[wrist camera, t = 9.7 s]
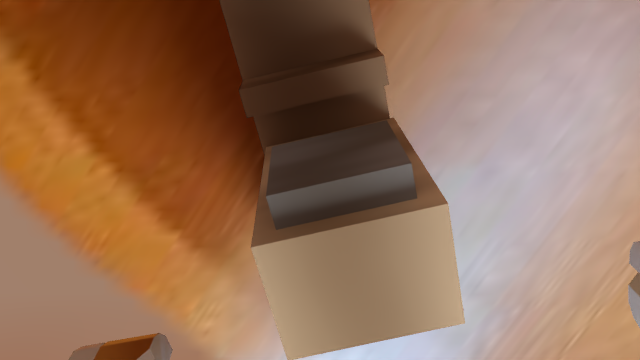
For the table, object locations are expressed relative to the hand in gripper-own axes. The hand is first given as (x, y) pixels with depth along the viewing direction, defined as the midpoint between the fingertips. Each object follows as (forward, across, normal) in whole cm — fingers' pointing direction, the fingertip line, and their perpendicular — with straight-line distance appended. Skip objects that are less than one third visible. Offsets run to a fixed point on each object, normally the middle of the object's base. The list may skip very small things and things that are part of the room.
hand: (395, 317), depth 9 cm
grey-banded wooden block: (+8, +1, +1) cm, 8 cm away
